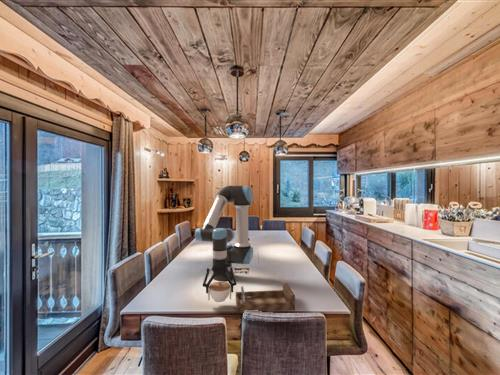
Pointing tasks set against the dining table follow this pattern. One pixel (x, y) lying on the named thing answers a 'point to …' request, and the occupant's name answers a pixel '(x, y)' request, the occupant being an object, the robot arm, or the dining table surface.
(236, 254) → the robot arm
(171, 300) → the dining table surface
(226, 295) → the lidded jar
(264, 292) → the wooden tray
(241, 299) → the pusher
